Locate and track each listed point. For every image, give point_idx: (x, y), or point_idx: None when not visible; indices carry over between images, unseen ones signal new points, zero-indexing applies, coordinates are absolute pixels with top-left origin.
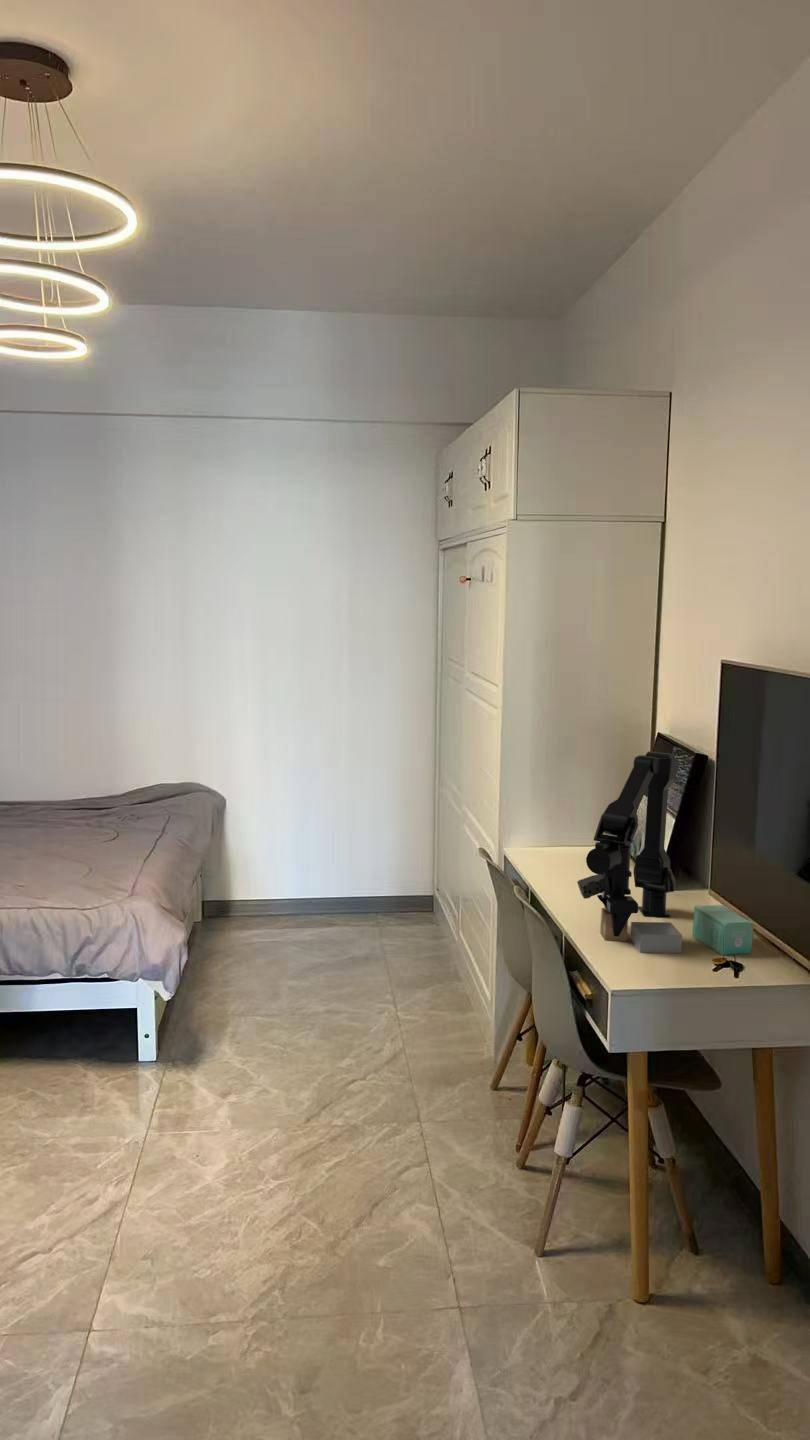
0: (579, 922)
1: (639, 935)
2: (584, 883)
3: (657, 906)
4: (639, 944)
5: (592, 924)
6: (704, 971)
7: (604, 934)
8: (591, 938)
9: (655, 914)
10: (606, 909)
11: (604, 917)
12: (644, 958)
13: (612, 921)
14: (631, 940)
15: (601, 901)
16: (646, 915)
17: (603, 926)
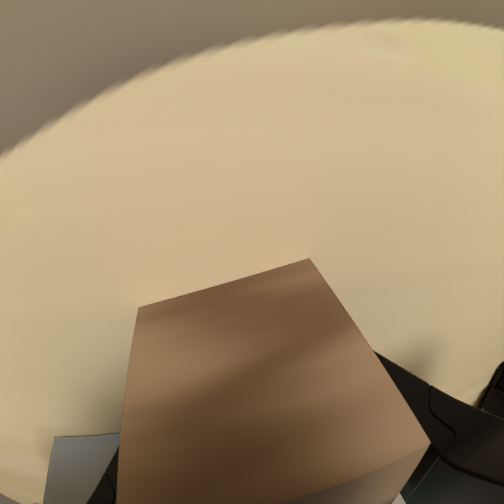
0: (496, 112)
1: (61, 497)
2: None
3: (500, 414)
4: (61, 462)
5: (475, 192)
6: (41, 498)
7: (157, 327)
8: (142, 203)
9: (489, 394)
10: (352, 493)
11: (191, 456)
12: (9, 436)
13: (113, 483)
14: None
15: (497, 483)
16: (498, 372)
17: (209, 356)
